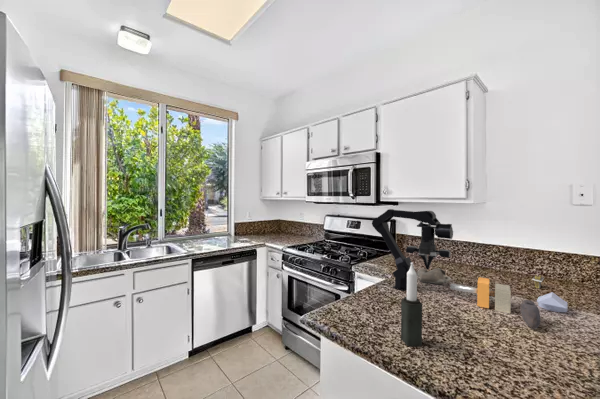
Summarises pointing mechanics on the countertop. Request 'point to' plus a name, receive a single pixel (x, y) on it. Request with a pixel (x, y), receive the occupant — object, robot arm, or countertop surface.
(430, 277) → the grey lumpy stone
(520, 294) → the countertop surface
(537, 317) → the perforated stone tool
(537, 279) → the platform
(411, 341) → the candle
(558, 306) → the pale blue faceted stone
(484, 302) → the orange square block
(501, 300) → the pipe stand
